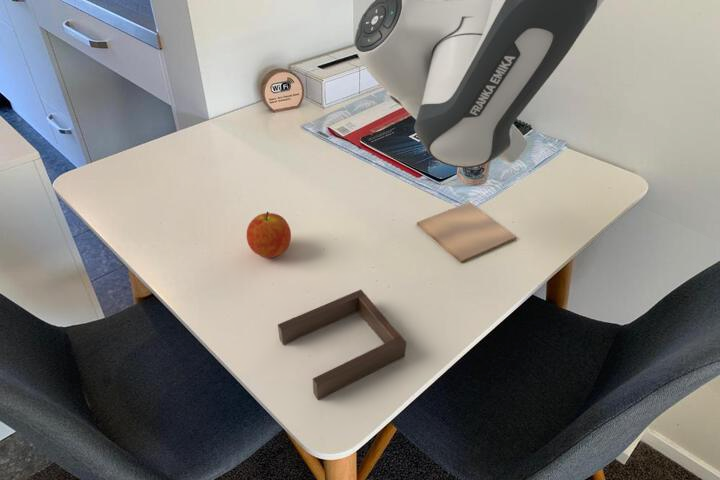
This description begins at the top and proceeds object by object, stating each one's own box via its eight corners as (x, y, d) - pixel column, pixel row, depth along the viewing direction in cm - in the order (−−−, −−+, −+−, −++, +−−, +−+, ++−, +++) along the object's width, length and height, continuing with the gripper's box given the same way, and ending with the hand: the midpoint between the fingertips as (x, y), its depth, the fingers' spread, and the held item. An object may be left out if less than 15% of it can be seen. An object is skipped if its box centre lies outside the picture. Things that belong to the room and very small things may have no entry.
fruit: (269, 272, 81) (264, 232, 76) (240, 253, 85) (233, 214, 80) (301, 250, 85) (298, 211, 80) (272, 233, 89) (267, 194, 84)
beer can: (453, 184, 81) (463, 113, 74) (459, 169, 85) (470, 99, 77) (483, 191, 80) (497, 118, 73) (489, 175, 84) (503, 105, 76)
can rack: (405, 356, 69) (406, 341, 67) (317, 400, 64) (316, 385, 62) (360, 303, 76) (361, 289, 74) (279, 339, 71) (277, 324, 69)
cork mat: (515, 239, 88) (516, 236, 88) (461, 263, 84) (461, 260, 83) (469, 204, 96) (469, 201, 96) (416, 224, 91) (417, 221, 91)
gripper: (517, 102, 61) (550, 152, 72) (404, 52, 74) (446, 100, 85) (484, 147, 62) (522, 189, 73) (378, 89, 75) (423, 133, 85)
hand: (480, 141), depth 79 cm, fingers closed on beer can, 5 cm apart
